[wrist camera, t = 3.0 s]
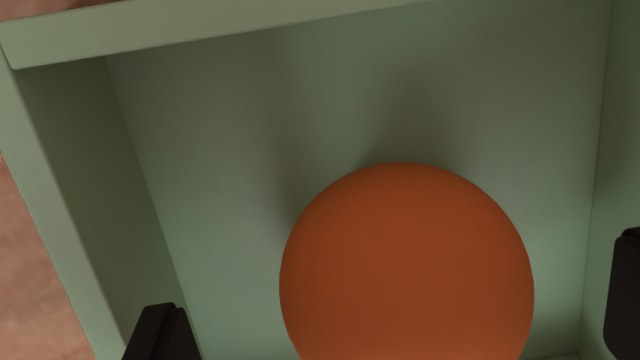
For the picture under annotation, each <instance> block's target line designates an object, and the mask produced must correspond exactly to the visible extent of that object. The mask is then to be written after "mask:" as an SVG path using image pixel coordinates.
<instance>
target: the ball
mask: <svg viewBox="0 0 640 360" xmlns="http://www.w3.org/2000/svg"><path fill="white" fill-rule="evenodd" d="M279 298H280V306H281V312H282V316H283V320H284V323H285V326H286V330H287V333H288V336H289V338H290V340H291V342H292V344H293V346H294V348H295V350H296V351H297V353H298V355H299V357H300V358H301V360H517V359H518V358H519V356H520V354H521V352H522V350H523V348H524V346H525V343H526V341H527V338H528V334H529V331H530V327H531V323H532V320H533V312H534V280H533V275H532V269H531V264H530V260H529V256H528V254H527V251H526V249H525V246H524V244H523V241H522V239H521V237H520V234H519V233H518V231H517V229H516V228H515V226H514V224H513V223H512V221H511V220H510V218H509V217H508V216H507V214H506V213H505V212H504V211H503V209H502V208H501V207H500V206H499V205H498V204H497V203H496V202H495V201H494V200H493V199H492V198H491V197H490V196H489V195H488V194H486V193H485V192H484V191H483V190H482V189H481V188H479V187H478V186H476V185H475V184H473V183H472V182H470V181H468V180H467V179H465V178H463V177H461V176H459V175H457V174H455V173H453V172H450V171H448V170H446V169H442V168H439V167H435V166H432V165H427V164H421V163H414V162H389V163H381V164H376V165H372V166H367V167H365V168H362V169H359V170H356V171H353V172H351V173H349V174H347V175H345V176H343V177H341V178H339V179H338V180H336V181H335V182H333V183H332V184H330V185H329V186H327V187H326V188H325V189H324V190H323V191H322V192H320V193H319V194H318V195H317V196H316V197H315V198H314V199H313V200H312V202H311V203H310V204H309V205H308V206H307V207H306V208H305V209H304V211H303V212H302V214H301V215H300V217H299V218H298V219H297V221H296V223H295V225H294V227H293V229H292V231H291V233H290V235H289V237H288V240H287V243H286V246H285V249H284V252H283V256H282V262H281V267H280V274H279Z"/></svg>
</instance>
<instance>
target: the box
mask: <svg viewBox="0 0 640 360" xmlns="http://www.w3.org/2000/svg"><path fill="white" fill-rule="evenodd" d="M0 151H1V153H2V156H3V158H4V160H5V162H6V164H7V166H8V169H9V171H10V173H11V175H12V177H13V179H14V181H15V184H16V186H17V188H18V190H19V192H20V194H21V197H22V199H23V201H24V203H25V205H26V207H27V210H28V212H29V214H30V216H31V218H32V220H33V223H34V225H35V227H36V229H37V231H38V233H39V236H40V238H41V240H42V242H43V244H44V246H45V249H46V251H47V253H48V255H49V257H50V259H51V262H52V264H53V266H54V268H55V270H56V272H57V275H58V277H59V279H60V281H61V283H62V285H63V288H64V290H65V292H66V294H67V296H68V298H69V300H70V303H71V305H72V307H73V309H74V311H75V313H76V316H77V318H78V320H79V322H80V324H81V326H82V329H83V331H84V333H85V335H86V337H87V339H88V342H89V344H90V346H91V348H92V350H93V352H94V355H95V357H96V359H97V360H121V359H122V357H123V354H124V352H125V350H126V347H127V345H128V343H129V340H130V338H131V336H132V333H133V331H134V329H135V326H136V324H137V322H138V319H139V317H140V315H141V312H142V310H143V309H144V307H145V306H148V305H154V304H161V303H167V302H173V303H174V304H175V305H176V307H177V308H179V307H183V308H184V309H185V312H186V314H187V317H188V320H189V323H190V326H191V329H192V332H193V335H194V338H195V341H196V343H197V346H198V349H199V352H200V355H201V358H202V360H301V358H300V357H299V355H298V353H297V351H296V350H295V348H294V346H293V344H292V342H291V340H290V338H289V336H288V333H287V330H286V326H285V323H284V320H283V316H282V312H281V306H280V298H279V274H280V267H281V262H282V256H283V252H284V249H285V246H286V243H287V240H288V237H289V235H290V233H291V231H292V229H293V227H294V225H295V223H296V221H297V219H298V218H299V217H300V215H301V214H302V212H303V211H304V209H305V208H306V207H307V206H308V205H309V204H310V203H311V202H312V200H313V199H314V198H315V197H316V196H317V195H318V194H319V193H320V192H322V191H323V190H324V189H325V188H326V187H327V186H329V185H330V184H332V183H333V182H335V181H336V180H338V179H339V178H341V177H343V176H345V175H347V174H349V173H351V172H353V171H356V170H359V169H362V168H365V167H367V166H372V165H376V164H381V163H389V162H414V163H421V164H427V165H432V166H435V167H439V168H442V169H446V170H448V171H450V172H453V173H455V174H457V175H459V176H461V177H463V178H465V179H467V180H468V181H470V182H472V183H473V184H475V185H476V186H478V187H479V188H481V189H482V190H483V191H484V192H485V193H486V194H488V195H489V196H490V197H491V198H492V199H493V200H494V201H495V202H496V203H497V204H498V205H499V206H500V207H501V208H502V209H503V211H504V212H505V213H506V214H507V216H508V217H509V218H510V220H511V221H512V223H513V224H514V226H515V228H516V229H517V231H518V233H519V234H520V237H521V239H522V241H523V244H524V246H525V249H526V251H527V254H528V256H529V260H530V264H531V269H532V275H533V280H534V312H533V320H532V323H531V327H530V331H529V334H528V338H527V341H526V343H525V346H524V348H523V350H522V352H521V354H520V356H519V358H518V359H517V360H617V359H616V358H615V357H614V356H613V355H612V353H611V352H610V351H609V350H608V348H607V346H606V344H605V342H604V339H603V326H604V318H605V311H606V303H607V296H608V288H609V281H610V273H611V266H612V258H613V251H614V243H615V240H616V239H617V238H618V237H621V234H622V232H623V231H624V230H625V229H627V228H633V227H639V226H640V0H123V1H116V2H110V3H104V4H98V5H92V6H86V7H80V8H74V9H68V10H62V11H56V12H50V13H45V14H39V15H33V16H27V17H21V18H15V19H10V20H4V21H0Z"/></svg>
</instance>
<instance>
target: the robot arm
mask: <svg viewBox="0 0 640 360" xmlns="http://www.w3.org/2000/svg"><path fill="white" fill-rule="evenodd" d="M603 339H604V342H605V344H606V346H607V348H608V350H609V351H610V352H611V353H612V355H613V356H614V357H615V358H616V359H617V360H640V226H639V227H633V228H627V229H625V230H624V231H623V232H622V234H621V237H618V238H617V239H616V240H615V243H614V251H613V258H612V266H611V273H610V281H609V288H608V296H607V303H606V311H605V318H604V326H603ZM121 360H202V358H201V355H200V352H199V349H198V346H197V343H196V341H195V338H194V335H193V332H192V329H191V326H190V323H189V320H188V317H187V314H186V312H185V309H184V308H183V307H179V308H177V307H176V305H175V304H174V303H173V302H167V303H161V304H154V305H148V306H145V307H144V309H143V310H142V312H141V315H140V317H139V319H138V322H137V324H136V326H135V329H134V331H133V333H132V336H131V338H130V340H129V343H128V345H127V347H126V350H125V352H124V354H123V357H122V359H121Z"/></svg>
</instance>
